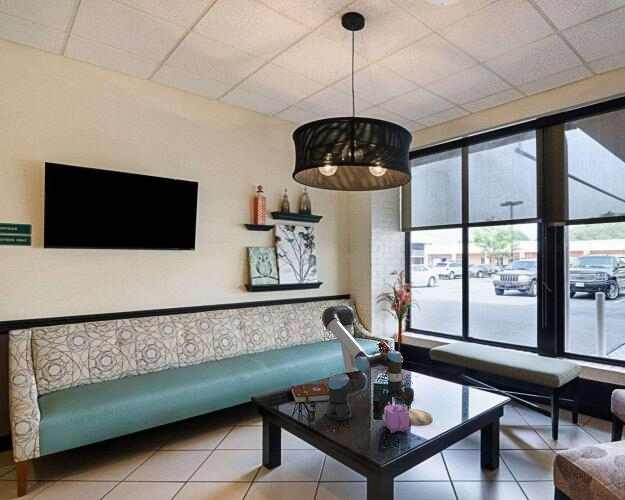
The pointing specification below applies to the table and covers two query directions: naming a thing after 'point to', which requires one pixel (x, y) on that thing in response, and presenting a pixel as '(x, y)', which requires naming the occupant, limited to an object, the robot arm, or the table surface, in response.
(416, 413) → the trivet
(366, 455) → the table surface
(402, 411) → the teapot
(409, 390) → the camera
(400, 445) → the table surface
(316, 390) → the book
